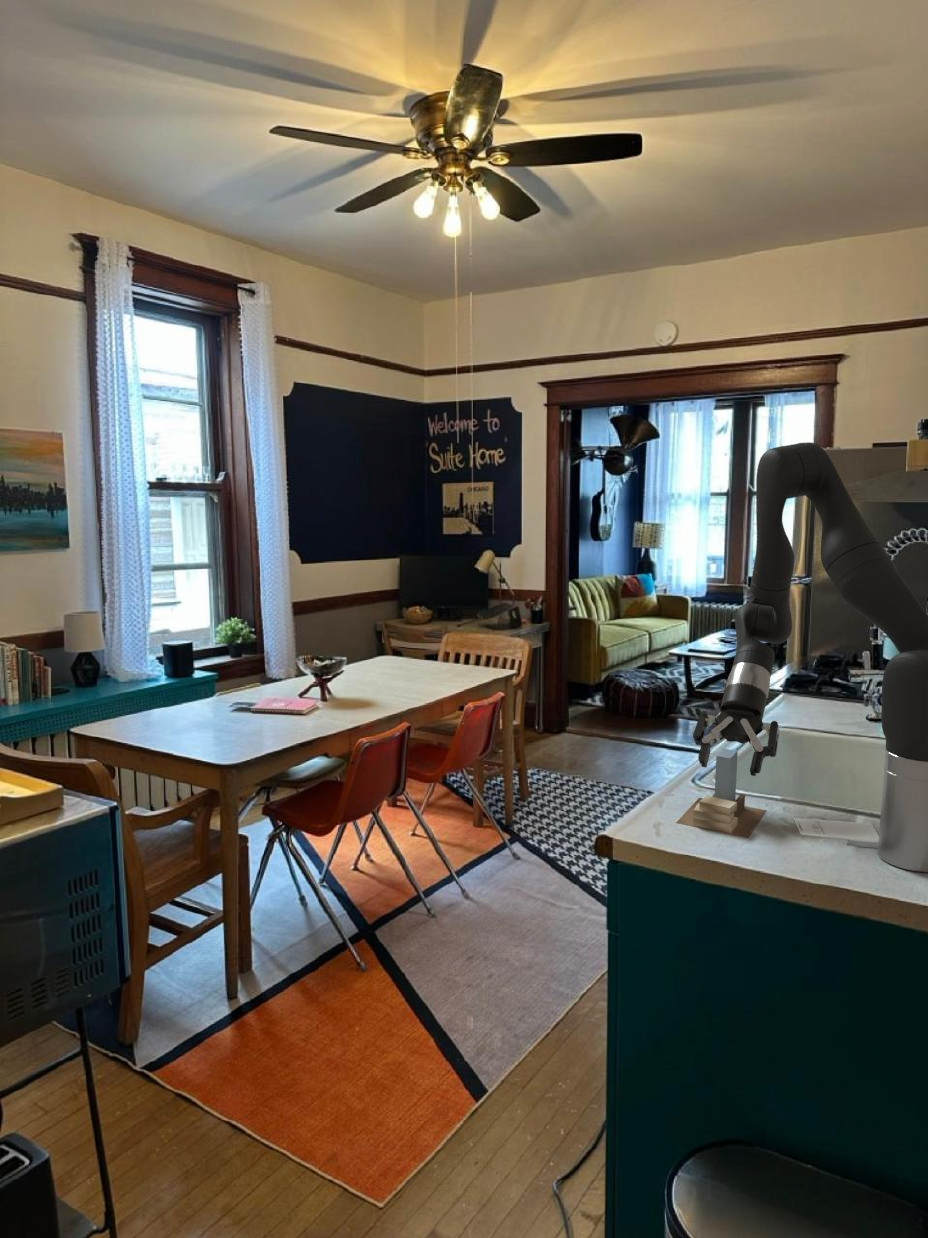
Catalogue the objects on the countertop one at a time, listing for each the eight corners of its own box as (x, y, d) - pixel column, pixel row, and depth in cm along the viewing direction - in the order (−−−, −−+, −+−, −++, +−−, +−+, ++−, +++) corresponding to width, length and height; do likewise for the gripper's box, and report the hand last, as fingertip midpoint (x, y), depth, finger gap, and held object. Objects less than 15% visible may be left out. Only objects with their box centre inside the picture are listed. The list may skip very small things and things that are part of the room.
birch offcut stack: (737, 825, 137) (738, 801, 136) (731, 833, 133) (732, 809, 133) (698, 817, 140) (699, 794, 140) (691, 825, 137) (692, 801, 136)
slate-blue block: (734, 810, 143) (737, 750, 142) (727, 819, 139) (730, 758, 138) (721, 807, 145) (723, 748, 143) (713, 817, 140) (716, 756, 139)
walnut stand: (766, 815, 143) (767, 797, 143) (748, 843, 132) (749, 823, 131) (698, 802, 150) (699, 784, 149) (675, 828, 138) (676, 808, 137)
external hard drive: (882, 851, 130) (800, 844, 133) (869, 831, 138) (792, 824, 141) (883, 842, 130) (801, 834, 132) (870, 822, 137) (793, 815, 140)
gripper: (704, 677, 151) (683, 752, 143) (784, 686, 143) (767, 766, 135) (710, 699, 156) (691, 772, 148) (788, 708, 148) (772, 787, 140)
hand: (727, 769), depth 142 cm, fingers open, 8 cm apart
